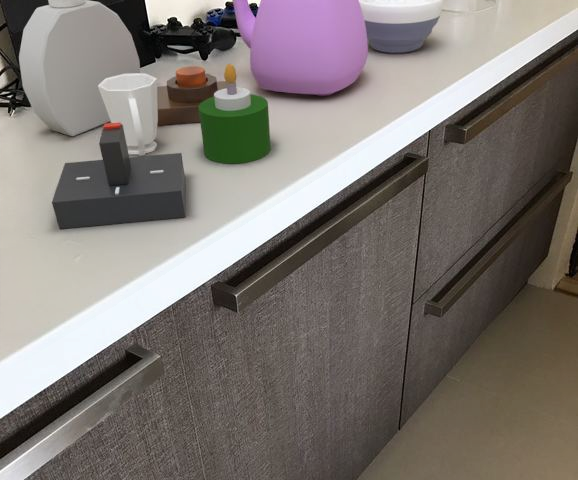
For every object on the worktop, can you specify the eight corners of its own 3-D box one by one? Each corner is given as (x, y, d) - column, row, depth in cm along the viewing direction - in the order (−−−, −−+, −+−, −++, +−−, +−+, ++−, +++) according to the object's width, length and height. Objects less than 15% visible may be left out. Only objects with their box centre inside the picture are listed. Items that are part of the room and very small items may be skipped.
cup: (164, 134, 88) (153, 69, 82) (174, 163, 80) (163, 94, 75) (110, 142, 86) (96, 76, 81) (116, 171, 79) (100, 101, 74)
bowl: (344, 56, 111) (345, 5, 106) (364, 34, 122) (366, -14, 117) (431, 61, 108) (436, 8, 103) (444, 37, 118) (449, -12, 113)
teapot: (385, 64, 107) (391, -46, 97) (343, 107, 93) (344, -17, 83) (257, 55, 114) (250, -49, 104) (200, 93, 100) (185, -22, 90)
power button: (177, 89, 90) (175, 75, 89) (177, 80, 93) (175, 67, 92) (206, 87, 91) (205, 73, 89) (206, 78, 94) (204, 65, 92)
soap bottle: (60, 143, 87) (12, -35, 74) (35, 135, 89) (-15, -38, 76) (150, 107, 96) (121, -57, 83) (126, 101, 99) (94, -59, 85)
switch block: (151, 126, 90) (146, 95, 88) (154, 102, 98) (149, 73, 95) (239, 119, 91) (237, 88, 88) (235, 95, 98) (232, 67, 96)
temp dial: (128, 184, 69) (118, 139, 66) (108, 186, 69) (98, 140, 66) (131, 165, 73) (122, 121, 70) (112, 166, 73) (102, 123, 69)
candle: (203, 165, 79) (191, 77, 73) (205, 139, 86) (194, 56, 79) (272, 161, 80) (267, 72, 73) (268, 135, 86) (263, 52, 79)
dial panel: (59, 229, 69) (51, 200, 66) (71, 188, 76) (64, 161, 74) (185, 217, 69) (180, 188, 67) (185, 178, 77) (181, 151, 75)
